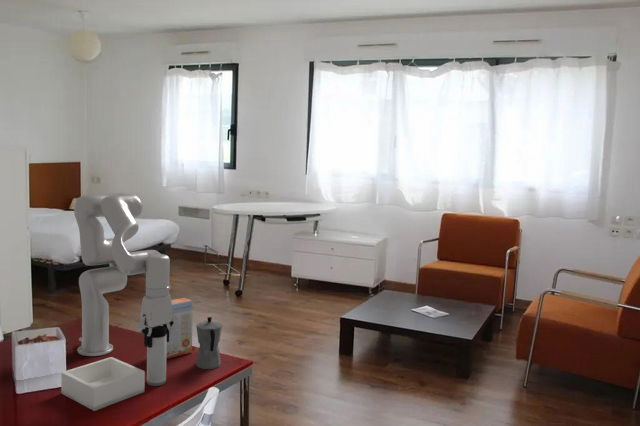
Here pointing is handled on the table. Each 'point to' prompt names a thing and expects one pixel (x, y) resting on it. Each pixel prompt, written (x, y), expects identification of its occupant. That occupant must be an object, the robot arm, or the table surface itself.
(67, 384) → the bin
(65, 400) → the table surface
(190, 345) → the cracker box
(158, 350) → the travel mug
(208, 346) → the coffeepot
